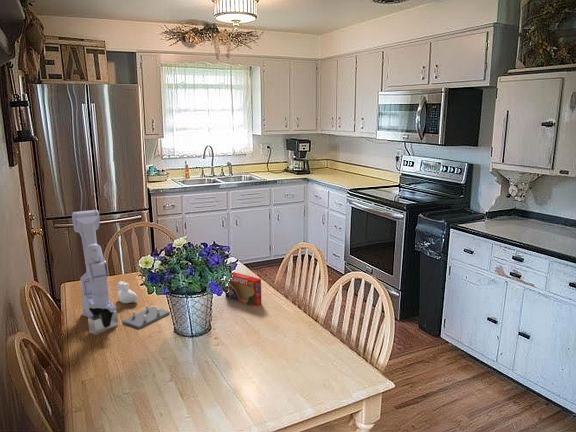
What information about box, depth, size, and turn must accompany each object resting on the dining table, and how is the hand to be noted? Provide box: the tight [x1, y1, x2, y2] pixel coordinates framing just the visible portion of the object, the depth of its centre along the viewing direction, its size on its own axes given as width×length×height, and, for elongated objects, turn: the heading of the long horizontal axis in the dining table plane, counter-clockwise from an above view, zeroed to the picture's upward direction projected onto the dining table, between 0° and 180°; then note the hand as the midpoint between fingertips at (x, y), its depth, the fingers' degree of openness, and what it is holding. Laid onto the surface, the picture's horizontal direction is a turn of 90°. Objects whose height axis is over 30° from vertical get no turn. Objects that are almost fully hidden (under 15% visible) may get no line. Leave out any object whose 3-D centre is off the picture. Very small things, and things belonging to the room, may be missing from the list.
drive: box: [87, 310, 119, 336], centre depth 175 cm, size 4×10×6 cm, turn 148°
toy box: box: [225, 271, 262, 308], centre depth 200 cm, size 18×4×12 cm, turn 54°
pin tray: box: [121, 304, 171, 330], centre depth 184 cm, size 10×16×4 cm, turn 148°
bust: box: [116, 280, 139, 305], centre depth 199 cm, size 12×8×11 cm
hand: (103, 324), depth 175 cm, fingers closed on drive, 4 cm apart
